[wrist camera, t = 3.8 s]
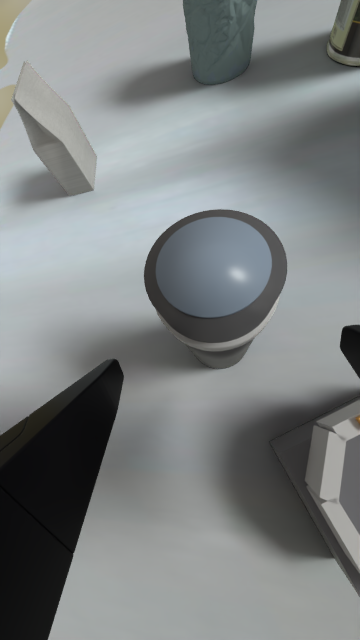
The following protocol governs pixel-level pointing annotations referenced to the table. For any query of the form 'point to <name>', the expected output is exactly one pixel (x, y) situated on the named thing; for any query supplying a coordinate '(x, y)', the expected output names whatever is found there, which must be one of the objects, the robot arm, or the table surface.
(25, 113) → the white red printed carton
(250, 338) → the flashlight
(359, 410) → the octagonal tube holder
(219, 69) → the grey green cup
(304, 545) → the table surface
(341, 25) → the coffee can
